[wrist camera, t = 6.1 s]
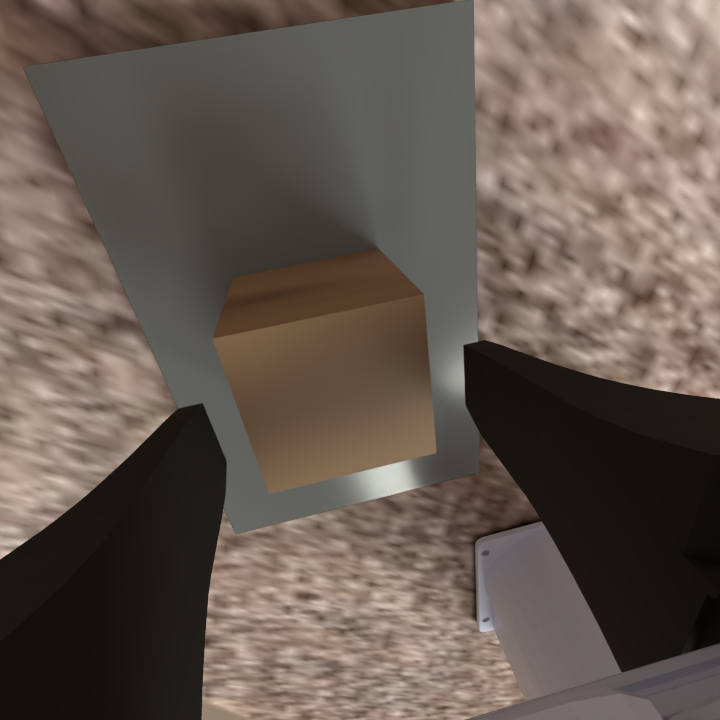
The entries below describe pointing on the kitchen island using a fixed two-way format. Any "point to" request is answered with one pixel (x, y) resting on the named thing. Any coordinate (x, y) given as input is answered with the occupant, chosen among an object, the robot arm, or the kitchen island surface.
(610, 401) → the robot arm
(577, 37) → the kitchen island surface
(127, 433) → the kitchen island surface
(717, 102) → the kitchen island surface
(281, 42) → the board
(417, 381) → the cube
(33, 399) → the kitchen island surface
